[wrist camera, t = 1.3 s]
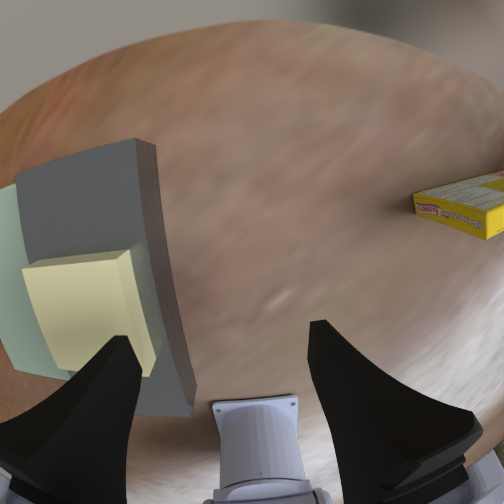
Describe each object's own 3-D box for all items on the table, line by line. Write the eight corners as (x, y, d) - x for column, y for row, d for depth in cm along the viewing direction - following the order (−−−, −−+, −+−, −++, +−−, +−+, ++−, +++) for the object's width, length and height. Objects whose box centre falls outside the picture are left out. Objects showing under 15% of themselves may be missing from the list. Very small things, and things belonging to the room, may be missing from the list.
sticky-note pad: (156, 358, 17) (149, 376, 15) (69, 354, 17) (58, 368, 15) (129, 249, 15) (115, 259, 13) (38, 260, 15) (21, 269, 13)
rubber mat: (93, 381, 22) (92, 383, 22) (17, 367, 22) (15, 369, 21) (38, 175, 17) (34, 175, 16) (-32, 204, 16) (-35, 205, 16)
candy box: (414, 218, 19) (486, 242, 12) (410, 193, 19) (485, 207, 11) (511, 186, 19) (565, 197, 11) (508, 167, 19) (563, 175, 11)
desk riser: (196, 385, 22) (191, 417, 19) (101, 381, 22) (87, 408, 18) (155, 145, 17) (135, 138, 13) (46, 173, 17) (15, 175, 13)
